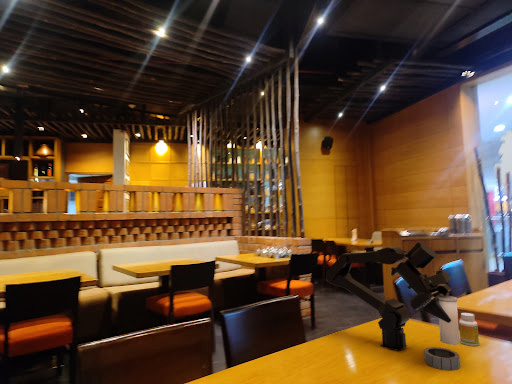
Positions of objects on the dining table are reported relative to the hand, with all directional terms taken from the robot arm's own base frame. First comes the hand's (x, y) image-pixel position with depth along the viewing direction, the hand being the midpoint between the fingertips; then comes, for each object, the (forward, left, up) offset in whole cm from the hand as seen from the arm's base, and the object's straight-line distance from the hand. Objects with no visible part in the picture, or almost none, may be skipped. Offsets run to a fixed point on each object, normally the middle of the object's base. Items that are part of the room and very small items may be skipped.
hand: (453, 320), depth 100 cm
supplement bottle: (-1, +21, -13) cm, 25 cm away
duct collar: (-3, -3, -12) cm, 13 cm away
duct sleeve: (-1, 0, -7) cm, 7 cm away
